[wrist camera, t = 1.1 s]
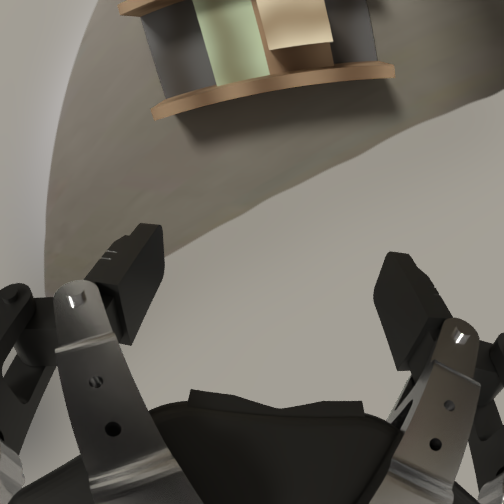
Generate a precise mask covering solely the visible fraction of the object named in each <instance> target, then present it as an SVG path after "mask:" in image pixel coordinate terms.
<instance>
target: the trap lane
mask: <svg viewBox="0 0 504 504" xmlns="http://www.w3.org/2000/svg"><path fill="white" fill-rule="evenodd" d="M324 3H325V7H326V11H327V15H328V19H329V24H330V28H331V33H332V38H333V42H324V43H315V44H306V45H299V46H292V47H285V48H279V49H273V50H269V48H268V43H267V39H266V36H265V32H264V28H263V24H262V20H261V16H260V13H259V9H258V5H257V2H256V0H127V1H124V2H122V3H120V4H118V9H119V12H120V15H124V16H137V17H140V18H141V21H142V24H143V28H144V31H145V34H146V38H147V41H148V44H149V47H150V51H151V54H152V57H153V60H154V63H155V66H156V70H157V73H158V76H159V79H160V82H161V85H162V88H163V91H164V95H165V98H166V99H165V100H164V101H162V102H161V103H159V104H158V105H156V106H154V107H153V108H151V112H152V115H153V118H154V121H155V120H158V119H161V118H164V117H168V116H171V115H174V114H177V113H181V112H184V111H188V110H191V109H195V108H199V107H202V106H206V105H210V104H214V103H218V102H222V101H226V100H230V99H235V98H239V97H244V96H249V95H253V94H258V93H264V92H269V91H274V90H280V89H286V88H292V87H299V86H306V85H313V84H321V83H329V82H339V81H349V80H362V79H378V78H395V71H394V65H391V64H388V63H384V62H380V61H377V56H376V49H375V43H374V38H373V32H372V27H371V22H370V17H369V12H368V8H367V3H366V0H324Z"/></svg>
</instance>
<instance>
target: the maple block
mask: <svg viewBox="0 0 504 504" xmlns="http://www.w3.org/2000/svg"><path fill="white" fill-rule="evenodd" d="M256 2H257V5H258V9H259V13H260V16H261V20H262V24H263V28H264V32H265V36H266V39H267V43H268V48H269V50H273V49H279V48H285V47H292V46H299V45H306V44H315V43H324V42H333V38H332V33H331V28H330V24H329V19H328V15H327V11H326V7H325V3H324V0H256Z"/></svg>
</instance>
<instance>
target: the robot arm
mask: <svg viewBox="0 0 504 504" xmlns="http://www.w3.org/2000/svg"><path fill="white" fill-rule="evenodd" d="M164 268H165V262H164V245H163V230H162V226H161V225H155V224H145V223H140V224H139V225H138V226H137V227H136V228H135V230H134V231H133V232H132V233H131V235H130V236H127V235H125V236H123V237H121V238H120V239H118V240H116V241H115V242H114V243H113V244H112V245H111V246H110V247H109V249H108V250H107V252H105V253H104V255H103V256H102V258H101V259H100V260H99V261H98V262H97V263H96V264H95V266H94V267H93V268H92V270H91V271H90V272H89V273H88V275H87V276H86V277H85V278H84V280H76V281H72V282H69V283H66V284H65V285H63V286H61V287H60V288H59V289H58V290H57V291H56V292H55V294H54V297H45V298H33V296H32V292H31V290H30V288H29V287H28V286H27V285H25V284H22V283H17V284H11V285H9V286H6V287H4V288H3V289H1V290H0V504H504V425H503V424H502V421H501V418H500V415H499V412H498V410H497V407H496V404H495V402H494V398H495V397H496V395H497V394H498V393H499V392H500V391H501V390H502V389H503V388H504V333H501V334H500V335H499V336H498V338H497V339H496V341H495V342H494V343H493V344H492V343H488V342H484V341H481V340H479V336H478V333H477V332H476V330H475V329H474V328H473V327H472V326H471V325H470V324H469V323H467V322H466V321H464V320H462V319H458V318H453V317H452V315H451V313H450V311H449V310H448V308H447V306H446V305H445V303H444V301H443V299H442V298H441V296H440V295H439V293H438V291H437V290H436V288H434V285H433V283H432V282H431V280H430V278H429V277H428V276H427V275H426V274H425V273H424V272H422V271H421V270H420V269H419V268H418V267H417V266H416V264H415V263H414V261H413V259H412V258H411V256H410V255H409V254H406V253H398V252H389V253H387V255H386V257H385V260H384V263H383V265H382V268H381V271H380V274H379V277H378V280H377V283H376V285H375V288H374V294H373V296H374V297H373V299H374V304H375V307H376V309H377V312H378V315H379V318H380V321H381V324H382V326H383V329H384V332H385V335H386V338H387V341H388V344H389V347H390V350H391V353H392V356H393V359H394V362H395V366H396V369H397V371H409V370H410V371H411V376H410V377H409V379H408V380H407V382H406V384H405V386H404V388H403V390H402V392H401V394H400V396H399V398H398V400H397V402H396V404H395V406H394V407H393V409H392V411H391V413H390V415H389V417H388V418H387V420H386V421H385V420H383V419H381V418H378V417H376V416H373V415H370V414H366V413H364V409H363V404H362V401H321V402H316V403H311V404H306V405H301V406H295V407H289V408H282V409H278V408H274V407H270V406H267V405H263V404H260V403H257V402H254V401H250V400H247V399H244V398H241V397H238V396H235V395H228V394H221V393H213V392H205V391H199V390H193V389H191V390H190V395H189V399H188V401H181V402H175V403H169V404H166V405H162V406H159V407H156V408H154V409H151V410H149V411H148V409H147V407H146V405H145V403H144V401H143V399H142V397H141V395H140V392H139V390H138V388H137V386H136V383H135V381H134V379H133V377H132V375H131V372H130V370H129V367H128V365H127V363H126V360H125V358H124V356H123V353H122V350H121V348H120V345H119V343H121V344H125V345H130V346H131V345H132V343H133V341H134V339H135V337H136V334H137V332H138V330H139V328H140V326H141V323H142V321H143V319H144V317H145V315H146V312H147V310H148V308H149V306H150V304H151V302H152V299H153V298H154V296H155V293H156V292H157V289H158V287H159V285H160V283H161V281H162V279H163V275H164ZM13 346H14V348H15V350H16V352H17V355H16V356H15V358H14V360H13V362H12V363H11V365H10V367H9V369H8V370H7V372H6V374H5V376H4V378H3V376H2V366H3V363H4V361H5V359H6V358H7V356H8V354H9V353H10V351H11V349H12V348H13ZM56 366H57V367H58V372H59V377H60V382H61V386H62V391H63V395H64V399H65V403H66V407H67V411H68V415H69V419H70V422H71V426H72V429H73V433H74V436H75V439H76V442H77V445H78V448H79V451H80V455H79V456H77V457H75V458H74V459H72V460H70V461H69V462H67V463H66V464H64V465H62V466H61V467H59V468H57V469H55V470H54V471H52V472H50V473H49V474H47V475H45V476H43V477H41V478H40V479H38V480H36V481H34V482H33V483H31V484H29V485H27V486H25V487H24V488H22V486H23V485H24V483H25V477H24V474H23V468H22V463H21V460H20V458H19V453H20V450H21V448H22V445H23V442H24V439H25V437H26V434H27V431H28V429H29V427H30V424H31V421H32V419H33V417H34V414H35V412H36V409H37V407H38V405H39V403H40V400H41V398H42V396H43V393H44V391H45V389H46V387H47V385H48V383H49V381H50V378H51V376H52V374H53V372H54V370H55V368H56ZM467 442H469V446H470V450H471V455H472V459H473V464H474V469H475V473H476V478H477V484H478V489H479V496H478V500H476V499H475V498H473V497H472V496H471V495H470V494H469V493H468V492H467V491H466V490H464V489H463V488H462V487H461V486H460V485H459V484H458V483H457V482H455V478H456V475H457V473H458V470H459V467H460V464H461V461H462V458H463V455H464V452H465V449H466V445H467Z"/></svg>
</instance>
